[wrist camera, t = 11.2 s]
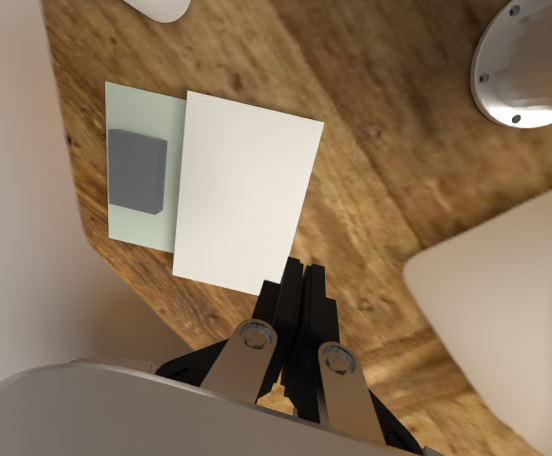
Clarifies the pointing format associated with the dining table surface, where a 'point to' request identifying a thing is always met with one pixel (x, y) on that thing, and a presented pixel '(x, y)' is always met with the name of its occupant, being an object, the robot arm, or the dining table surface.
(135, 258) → the dining table surface
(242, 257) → the plate
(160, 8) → the can
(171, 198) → the mat
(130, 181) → the tile
